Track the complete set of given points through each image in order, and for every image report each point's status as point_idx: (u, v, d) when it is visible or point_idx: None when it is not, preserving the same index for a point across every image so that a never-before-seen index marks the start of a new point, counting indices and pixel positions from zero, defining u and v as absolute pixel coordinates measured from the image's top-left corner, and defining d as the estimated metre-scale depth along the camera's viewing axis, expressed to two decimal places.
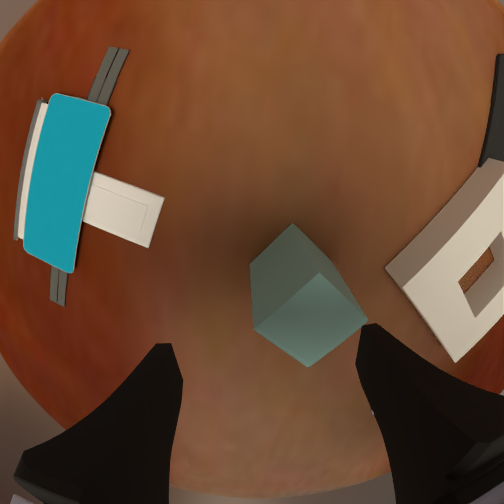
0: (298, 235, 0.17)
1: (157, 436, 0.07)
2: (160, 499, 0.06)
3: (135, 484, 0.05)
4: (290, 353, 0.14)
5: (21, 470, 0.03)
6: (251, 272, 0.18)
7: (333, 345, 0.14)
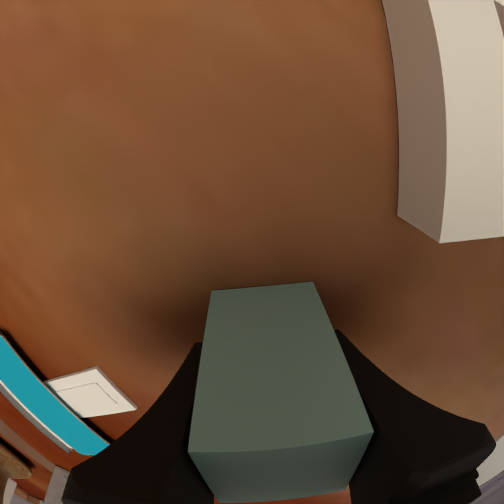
0: (206, 327, 0.09)
1: None
2: (209, 502, 0.06)
3: (192, 490, 0.05)
4: (297, 497, 0.07)
5: (74, 491, 0.03)
6: None
7: (348, 471, 0.06)
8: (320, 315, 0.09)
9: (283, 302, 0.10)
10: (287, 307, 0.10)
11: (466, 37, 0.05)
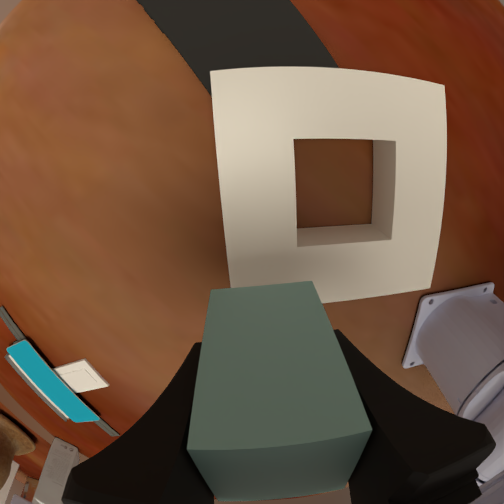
0: (205, 325, 0.09)
1: None
2: (209, 503, 0.06)
3: (192, 490, 0.05)
4: (296, 495, 0.07)
5: (74, 491, 0.03)
6: None
7: (347, 469, 0.06)
8: (319, 314, 0.09)
9: (282, 301, 0.10)
10: (286, 306, 0.10)
11: (248, 193, 0.14)
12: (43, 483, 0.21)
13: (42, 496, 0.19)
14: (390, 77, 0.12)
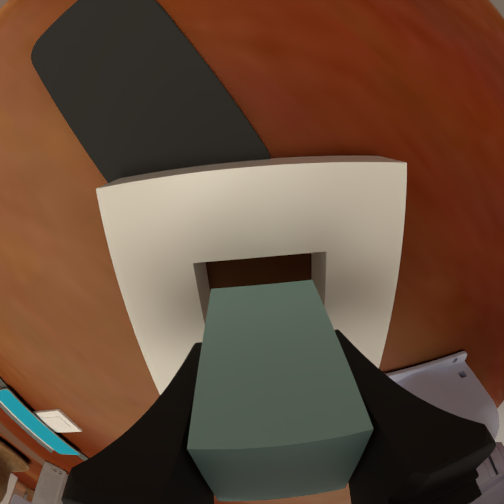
0: (205, 324, 0.09)
1: None
2: (209, 503, 0.06)
3: (192, 490, 0.05)
4: (297, 495, 0.07)
5: (74, 491, 0.03)
6: None
7: (348, 469, 0.06)
8: (320, 313, 0.09)
9: (283, 300, 0.10)
10: (287, 305, 0.10)
11: (154, 316, 0.13)
12: (36, 502, 0.20)
13: None
14: (322, 167, 0.11)
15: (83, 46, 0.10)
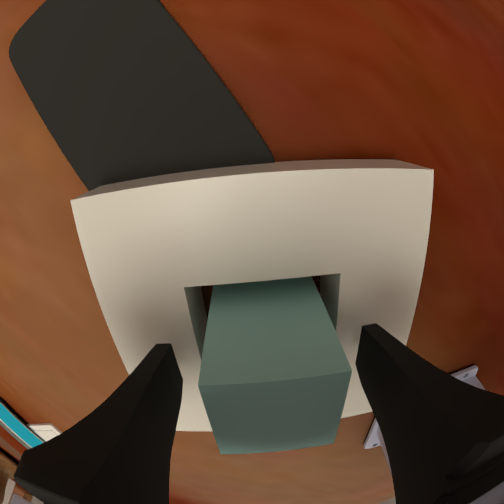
0: (212, 294, 0.11)
1: (157, 436, 0.07)
2: (160, 498, 0.06)
3: (135, 484, 0.05)
4: (291, 448, 0.08)
5: (21, 470, 0.03)
6: None
7: (334, 417, 0.08)
8: (309, 285, 0.11)
9: None
10: (281, 279, 0.12)
11: (142, 343, 0.11)
12: None
13: None
14: (338, 174, 0.09)
15: (62, 37, 0.08)
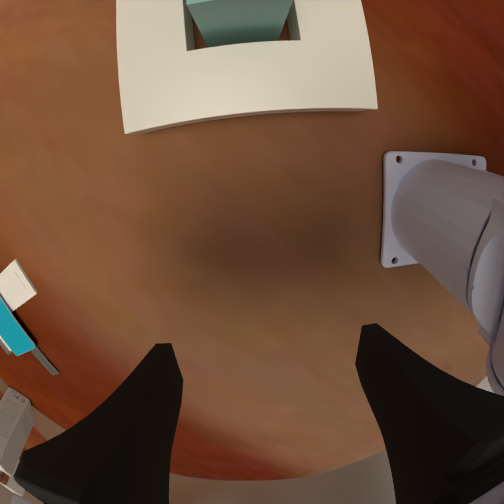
0: None
1: (157, 436, 0.07)
2: (160, 499, 0.06)
3: (135, 484, 0.05)
4: None
5: (21, 470, 0.03)
6: (205, 41, 0.13)
7: None
8: None
9: None
10: None
11: (139, 13, 0.10)
12: None
13: None
14: None
15: None
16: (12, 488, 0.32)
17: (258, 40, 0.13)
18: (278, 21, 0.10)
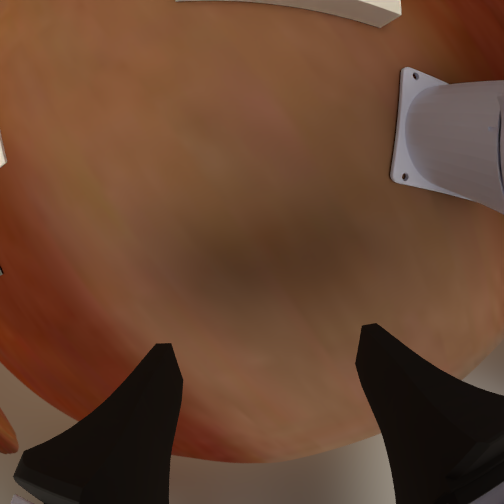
0: None
1: (157, 436, 0.07)
2: (160, 498, 0.06)
3: (135, 484, 0.05)
4: None
5: (21, 470, 0.03)
6: None
7: None
8: None
9: None
10: None
11: None
12: None
13: None
14: None
15: None
16: None
17: None
18: None
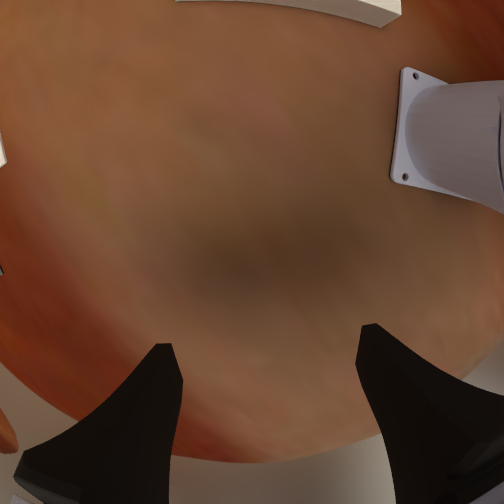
0: None
1: (157, 436, 0.07)
2: (160, 498, 0.06)
3: (135, 484, 0.05)
4: None
5: (21, 470, 0.03)
6: None
7: None
8: None
9: None
10: None
11: None
12: None
13: None
14: None
15: None
16: None
17: None
18: None
